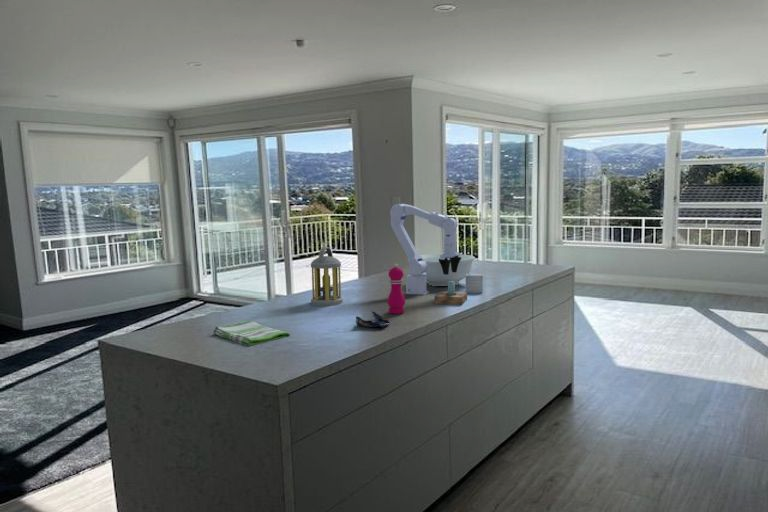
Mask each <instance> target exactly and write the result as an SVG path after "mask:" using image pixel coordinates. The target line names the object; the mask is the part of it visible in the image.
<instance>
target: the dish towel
mask: <svg viewBox="0 0 768 512" xmlns="http://www.w3.org/2000/svg"><path fill="white" fill-rule="evenodd" d="M212 333H213V334H214V335H215V336H218V337H221V338H224V339H227V340H229V341H230V340H231V341H232V342H236V343H238V344H242V345H245V346H249V347H251V346H256V345H259V344H264V343H267V342H271V341H275V340H279V339H284V338H288V337H290V336H291V334H290V333H289V332H288V331H283V330H279V329H275V328H271V327H269V326H265V325H262V324H259V323H257V322H256V321H253V320H245V321H238V322H236V323H229V324H224V325H215V327H214V330H213V331H212Z"/></svg>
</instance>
